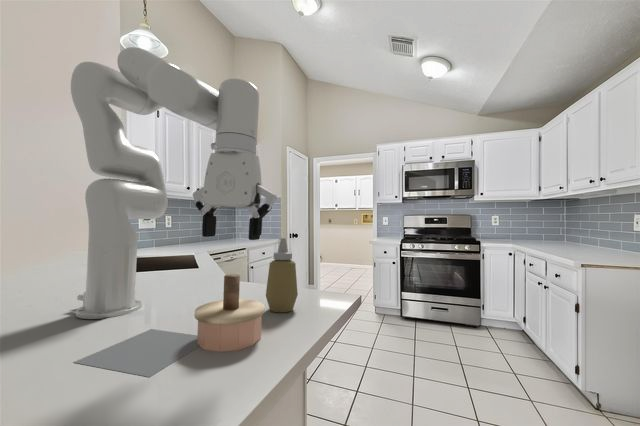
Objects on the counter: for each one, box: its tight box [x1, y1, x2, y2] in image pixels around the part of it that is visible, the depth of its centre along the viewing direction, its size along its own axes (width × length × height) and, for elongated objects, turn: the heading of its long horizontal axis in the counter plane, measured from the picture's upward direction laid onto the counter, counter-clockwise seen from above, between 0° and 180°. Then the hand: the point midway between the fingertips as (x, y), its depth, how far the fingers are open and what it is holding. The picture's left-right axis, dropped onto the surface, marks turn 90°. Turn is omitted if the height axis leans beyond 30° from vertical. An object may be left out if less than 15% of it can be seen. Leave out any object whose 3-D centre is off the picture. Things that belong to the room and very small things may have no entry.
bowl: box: [197, 315, 263, 353], centre depth 52 cm, size 11×11×5 cm
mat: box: [73, 328, 201, 378], centre depth 47 cm, size 14×14×1 cm
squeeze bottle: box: [265, 237, 299, 313], centre depth 71 cm, size 8×8×18 cm
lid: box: [194, 273, 266, 324], centre depth 52 cm, size 12×12×7 cm
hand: (231, 237), depth 53 cm, fingers open, 9 cm apart
